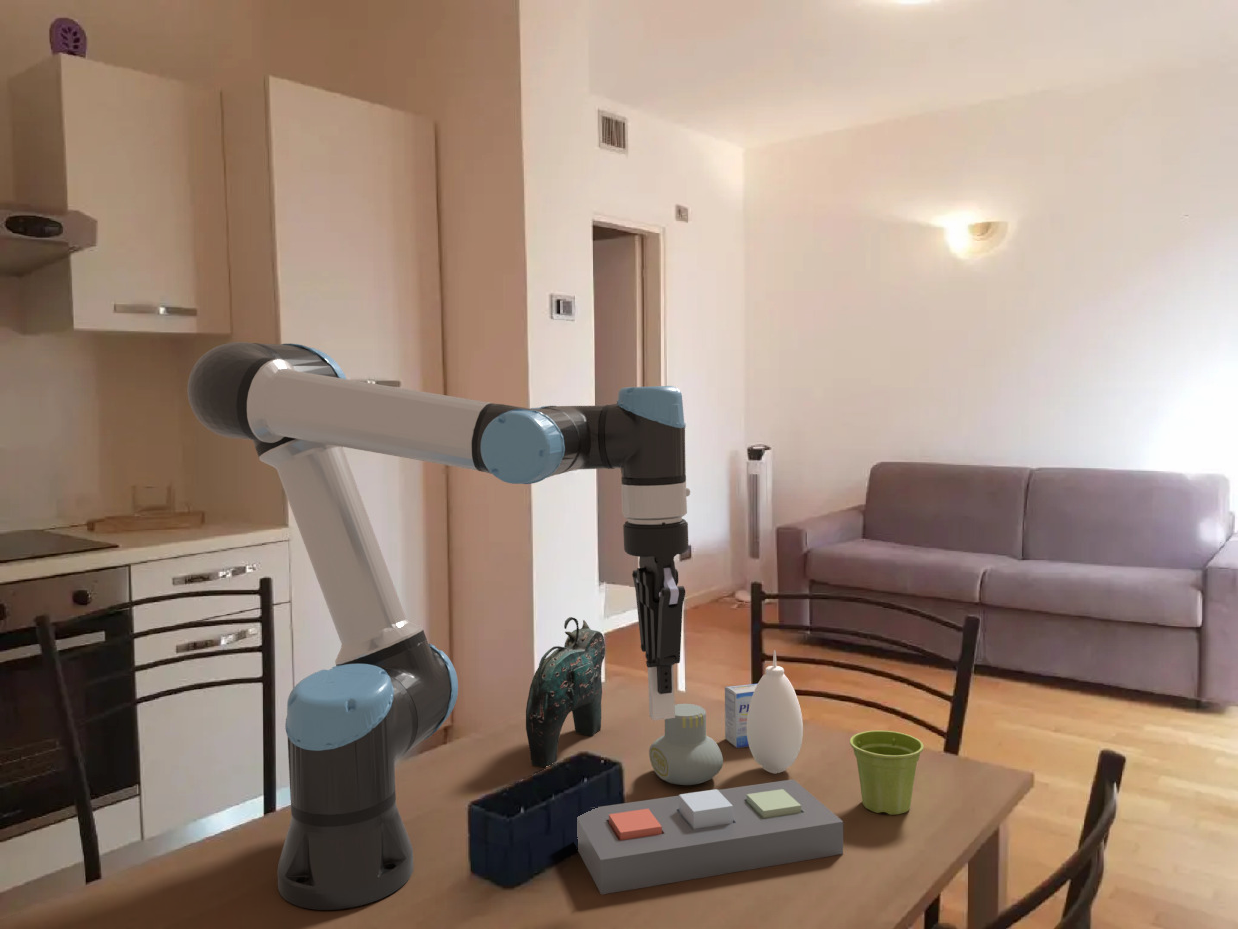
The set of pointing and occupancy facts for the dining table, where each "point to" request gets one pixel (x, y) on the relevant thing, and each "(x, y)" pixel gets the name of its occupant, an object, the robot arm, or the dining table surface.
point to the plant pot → (886, 769)
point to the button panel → (705, 840)
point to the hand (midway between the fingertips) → (662, 717)
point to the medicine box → (737, 713)
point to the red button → (634, 824)
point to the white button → (705, 809)
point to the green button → (773, 803)
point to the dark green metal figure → (565, 692)
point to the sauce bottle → (774, 721)
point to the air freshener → (686, 748)
